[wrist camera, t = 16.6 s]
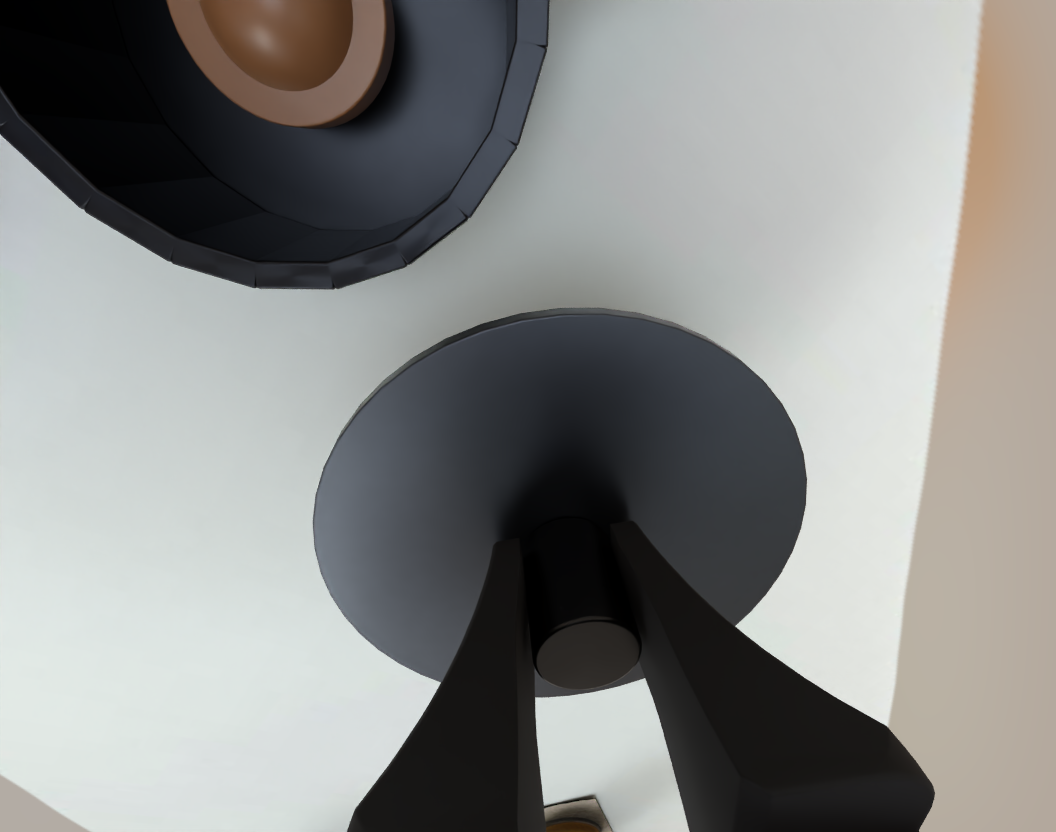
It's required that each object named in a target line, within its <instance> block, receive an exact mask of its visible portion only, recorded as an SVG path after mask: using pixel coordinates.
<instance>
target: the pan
mask: <svg viewBox="0 0 1056 832" xmlns="http://www.w3.org/2000/svg"><path fill="white" fill-rule="evenodd" d="M391 2H392V7H393V15H394V24H395V41H394V51H393V57H392V62H391V66H390V70H389V72H388V75H387V78H386V81H385V83H384V85H383V87H382V89H381V91H380V92H379V94H378V95H377V97H376V98H375V99H374V101H373V102H372V103H371V104H370V105H369V106H368V107H367V108H366V109H365V110H364V111H363V112H362V113H361V114H359V115H358V116H357V117H355V118H353V119H352V120H350V121H348V122H346V123H344V124H341V125H338V126H335V127H330V128H324V129H307V128H299V127H291V126H283V125H280V124H276V123H272V122H269V121H266V120H264V119H262V118H259V117H257V116H255V115H253V114H251V113H249V112H248V111H246V110H244V109H242V108H241V107H240V106H238V105H237V104H235V103H234V102H232V101H231V100H230V99H229V98H227V97H226V96H225V95H224V94H223V93H222V92H221V91H219V90H218V89H217V88H216V87H215V86H214V84H213V83H212V82H211V81H210V80H209V79H208V78H207V77H206V76H205V75H204V73H203V72H202V71H201V69H200V68H199V67H198V66H197V64H196V63H195V61H194V60H193V58H192V57H191V55H190V54H189V52H188V50H187V49H186V47H185V45H184V43H183V41H182V39H181V37H180V35H179V33H178V32H177V29H176V27H175V24H174V22H173V19H172V17H171V14H170V11H169V8H168V4H167V1H166V0H0V135H2V136H3V137H4V138H5V139H6V140H7V141H8V142H9V143H10V144H11V145H12V146H13V147H14V148H16V149H17V150H18V151H19V152H20V153H21V154H22V155H23V156H24V157H25V158H26V159H27V160H28V161H30V162H31V163H32V164H33V165H34V166H35V167H36V168H37V169H38V170H39V171H40V172H41V173H43V174H44V175H45V176H46V177H47V178H48V179H49V180H50V181H51V182H52V183H53V184H54V185H55V186H57V187H58V188H59V189H60V190H61V191H62V192H63V193H64V194H65V195H66V196H67V197H68V198H69V199H71V200H72V201H73V202H74V203H75V204H76V205H77V206H78V207H79V208H81V209H84V210H85V212H86V213H87V214H89V215H91V216H93V217H94V218H96V219H98V220H99V221H101V222H103V223H104V224H106V225H108V226H109V227H111V228H113V229H115V230H116V231H118V232H120V233H121V234H123V235H125V236H126V237H128V238H130V239H131V240H133V241H135V242H136V243H138V244H140V245H142V246H143V247H145V248H147V249H148V250H150V251H152V252H153V253H155V254H157V255H158V256H160V257H162V258H164V259H165V260H167V261H170V262H172V263H173V264H175V265H179V266H182V267H185V268H189V269H192V270H195V271H199V272H202V273H205V274H209V275H212V276H215V277H219V278H222V279H225V280H229V281H232V282H235V283H239V284H242V285H245V286H249V287H252V288H260V289H335V288H336V289H340V288H343V287H346V286H349V285H352V284H355V283H358V282H361V281H365V280H368V279H371V278H374V277H377V276H380V275H383V274H386V273H389V272H392V271H395V270H398V269H402V268H405V267H406V266H407V265H409V264H412V263H413V262H414V261H416V260H417V259H418V258H420V257H421V256H422V255H423V254H425V253H426V252H427V251H429V250H430V249H431V248H433V247H434V246H435V245H436V244H438V243H439V242H440V241H442V240H443V239H444V238H446V237H447V236H448V235H449V234H451V233H452V232H453V231H455V230H456V229H457V228H459V227H460V226H461V225H462V224H464V223H465V222H466V221H467V220H468V218H470V217H471V216H472V215H473V213H474V212H475V210H476V209H477V207H478V206H479V204H480V203H481V201H482V200H483V198H484V197H485V195H486V194H487V192H488V191H489V189H490V188H491V186H492V185H493V183H494V182H495V180H496V179H497V177H498V176H499V174H500V173H501V171H502V170H503V168H504V167H505V165H506V164H507V162H508V161H509V159H510V158H511V156H512V155H513V153H514V152H515V150H516V149H517V146H518V144H519V142H520V138H521V135H522V132H523V128H524V125H525V122H526V118H527V115H528V112H529V109H530V105H531V102H532V99H533V95H534V92H535V89H536V85H537V82H538V79H539V76H540V72H541V69H542V66H543V62H544V59H545V56H546V52H547V46H548V31H549V4H550V0H391Z"/></svg>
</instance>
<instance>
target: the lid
mask: <svg viewBox="0 0 1056 832" xmlns="http://www.w3.org/2000/svg"><path fill="white" fill-rule="evenodd" d="M806 488H807V477H806V469H805V462H804V454H803V451H802V448H801V445H800V442H799V438H798V435H797V432H796V429H795V427H794V425H793V423H792V421H791V419H790V418H789V416H788V414H787V412H786V410H785V408H784V406H783V405H782V403H781V402H780V400H779V399H778V398H777V397H776V395H775V394H774V393H773V392H772V390H771V389H770V388H769V387H768V385H767V384H766V383H765V382H764V381H763V380H762V379H761V378H760V377H759V376H758V375H757V374H756V373H754V372H753V371H752V370H751V369H750V368H749V367H748V366H747V365H745V364H744V363H743V362H742V361H741V360H740V359H739V358H737V357H736V356H735V355H734V354H732V353H731V352H729V351H728V350H726V349H724V348H723V347H721V346H720V345H718V344H717V343H715V342H713V341H712V340H710V339H709V338H707V337H705V336H703V335H701V334H699V333H696V332H694V331H692V330H690V329H687V328H685V327H683V326H680V325H678V324H676V323H673V322H670V321H666V320H663V319H659V318H655V317H651V316H648V315H644V314H640V313H636V312H628V311H620V310H612V309H604V308H557V309H550V310H543V311H535V312H528V313H520V314H517V315H513V316H509V317H505V318H502V319H498V320H494V321H491V322H487V323H483V324H480V325H478V326H475V327H473V328H471V329H468V330H466V331H463V332H461V333H458V334H456V335H454V336H451V337H449V338H446V339H444V340H443V341H441V342H439V343H437V344H436V345H434V346H432V347H430V348H429V349H427V350H425V351H423V352H422V353H420V354H418V355H417V356H415V357H413V358H412V359H410V360H409V361H408V362H407V363H405V364H404V365H403V366H401V367H400V368H399V369H397V370H396V371H395V372H394V373H392V374H391V375H390V376H388V377H387V378H386V379H385V380H383V382H382V383H381V384H380V385H379V386H378V387H377V388H376V389H375V390H374V391H373V392H372V393H371V394H370V395H369V396H368V397H367V398H366V399H365V400H364V401H363V402H362V403H361V404H360V406H359V407H358V408H357V410H356V411H355V413H354V414H353V416H352V417H351V418H350V420H349V421H348V423H347V424H346V425H345V427H344V428H343V430H342V431H341V433H340V435H339V437H338V439H337V441H336V443H335V445H334V447H333V449H332V451H331V453H330V456H329V458H328V460H327V462H326V464H325V466H324V468H323V472H322V475H321V478H320V482H319V485H318V489H317V492H316V497H315V506H314V515H313V532H314V546H315V552H316V556H317V559H318V563H319V567H320V571H321V574H322V577H323V579H324V581H325V583H326V586H327V588H328V590H329V592H330V595H331V596H332V598H333V600H334V601H335V603H336V604H337V606H338V607H339V609H340V610H341V612H342V613H343V615H344V616H345V617H346V619H347V620H348V621H349V622H350V623H351V624H352V625H353V626H354V628H355V629H356V630H357V631H358V632H359V633H360V634H361V635H362V636H363V637H364V638H365V639H367V640H368V641H369V642H370V643H371V644H372V645H374V646H375V647H376V648H377V649H378V650H380V651H381V652H383V653H384V654H386V655H387V656H389V657H390V658H392V659H393V660H395V661H396V662H398V663H399V664H401V665H403V666H405V667H407V668H409V669H411V670H413V671H415V672H417V673H419V674H421V675H423V676H426V677H429V678H431V679H434V680H436V681H439V682H442V680H443V679H444V677H445V675H446V673H447V671H448V669H449V667H450V665H451V663H452V661H453V659H454V657H455V655H456V653H457V651H458V649H459V646H460V644H461V642H462V640H463V638H464V635H465V633H466V630H467V628H468V626H469V623H470V621H471V618H472V616H473V613H474V611H475V608H476V605H477V602H478V599H479V597H480V594H481V591H482V588H483V585H484V582H485V578H486V575H487V571H488V568H489V564H490V559H491V555H492V549H493V545H494V544H495V543H496V542H497V541H504V540H510V539H517V538H519V539H520V545H521V550H522V556H523V562H524V572H525V582H526V595H527V608H528V619H529V629H530V640H531V651H532V660H533V665H534V668H535V697H556V696H570V695H577V694H583V693H590V692H596V691H600V690H605V689H609V688H613V687H618V686H621V685H624V684H628V683H631V682H634V681H637V680H640V679H644V678H645V676H644V673H643V670H642V668H641V665H640V662H639V659H640V656H641V651H642V641H641V637H640V634H639V631H638V628H637V625H636V621H635V618H634V615H633V612H632V609H631V606H630V603H629V600H628V597H627V593H626V590H625V587H624V584H623V581H622V578H621V575H620V572H619V569H618V566H617V563H616V560H615V556H614V553H613V550H612V547H611V536H610V524H614V523H621V522H627V521H634V522H635V523H637V525H638V526H639V527H640V529H641V530H642V531H643V533H644V534H645V535H646V537H647V538H648V539H649V540H650V542H651V543H652V544H653V545H654V546H655V548H656V549H657V550H658V551H659V552H660V554H661V555H662V556H663V557H664V558H665V559H666V560H667V562H668V563H669V564H670V565H671V566H672V567H673V568H674V569H675V570H676V571H677V572H678V573H679V574H680V575H681V577H682V578H683V579H684V580H685V581H686V582H687V583H688V584H689V585H690V586H691V587H692V588H693V589H694V590H695V591H696V592H697V593H698V594H699V595H700V596H701V597H702V598H703V599H705V600H706V601H707V602H708V603H709V604H710V605H711V606H712V607H713V608H714V609H715V610H716V611H718V612H719V613H720V614H721V615H722V616H723V617H724V618H725V619H727V620H728V621H729V622H730V623H731V624H733V625H734V626H736V625H737V624H738V623H739V622H740V621H741V620H742V619H743V618H744V617H745V616H747V615H748V614H749V613H750V612H751V611H752V610H753V608H754V607H755V606H756V605H757V604H758V603H759V602H760V601H761V599H762V598H763V597H764V596H765V595H766V594H767V592H768V591H769V590H770V588H771V587H772V585H773V584H774V582H775V581H776V580H777V578H778V577H779V575H780V574H781V572H782V570H783V568H784V567H785V565H786V563H787V561H788V559H789V557H790V555H791V553H792V551H793V549H794V546H795V543H796V540H797V538H798V535H799V532H800V530H801V525H802V521H803V516H804V511H805V506H806Z"/></svg>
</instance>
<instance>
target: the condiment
mask: <svg viewBox="0 0 1056 832" xmlns="http://www.w3.org/2000/svg"><path fill="white" fill-rule="evenodd" d="M544 814H545V823H546V832H612V830H611V828H610V826H609V824H608V822H607V820H606V819H605V817H604V815H603V813H602V811H601V809H600V807H599V806H598V803H597V801H596V799H591V800H586V801H584V800H580V801H576V802H570V803H567V804H559V805H555V806H551V807H547V808H544Z"/></svg>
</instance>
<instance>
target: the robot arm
mask: <svg viewBox="0 0 1056 832" xmlns="http://www.w3.org/2000/svg"><path fill="white" fill-rule="evenodd" d="M610 536H611V547H612V550H613V553H614V556H615V560H616V563H617V566H618V569H619V572H620V575H621V578H622V581H623V584H624V587H625V590H626V593H627V597H628V600H629V603H630V606H631V609H632V612H633V615H634V618H635V621H636V625H637V628H638V631H639V634H640V637H641V641H642V651H641V656H640V659H639V662H640V665H641V668H642V670H643V673H644V676H645V678H646V681H647V684H648V686H649V689H650V692H651V695H652V697H653V700H654V703H655V706H656V709H657V712H658V715H659V719H660V722H661V726H662V729H663V733H664V737H665V740H666V744H667V748H668V751H669V755H670V759H671V762H672V766H673V770H674V774H675V777H676V781H677V785H678V789H679V792H680V796H681V800H682V804H683V807H684V811H685V815H686V819H687V823H688V827H689V831H690V832H919V829H920V827H921V825H922V823H923V822H924V820H925V818H926V816H927V814H928V813H929V811H930V809H931V807H932V803H933V800H934V795H935V792H934V788H933V785H932V783H931V782H930V780H929V779H928V778H927V776H926V775H925V773H924V772H923V771H922V769H921V768H920V766H919V765H918V763H917V762H916V761H915V760H914V758H913V757H912V756H911V755H910V753H909V752H908V751H907V750H906V748H905V747H904V746H903V745H902V744H901V742H900V741H899V740H898V739H897V738H896V737H895V735H894V734H893V733H892V732H891V731H890V729H889V728H888V727H887V726H885V725H884V724H882V723H880V722H878V721H876V720H875V719H873V718H871V717H869V716H868V715H866V714H864V713H862V712H860V711H859V710H857V709H855V708H853V707H852V706H850V705H848V704H846V703H844V702H843V701H841V700H839V699H837V698H836V697H834V696H832V695H831V694H829V693H828V692H826V691H824V690H823V689H821V688H820V687H818V686H817V685H815V684H813V683H812V682H810V681H809V680H807V679H806V678H804V677H803V676H801V675H800V674H798V673H797V672H795V671H794V670H793V669H791V668H790V667H788V666H787V665H785V664H784V663H783V662H781V661H780V660H778V659H777V658H775V657H774V656H773V655H771V654H770V653H768V652H767V651H765V650H764V649H763V648H761V647H760V646H759V645H758V644H756V643H755V642H754V641H752V640H751V639H750V638H749V637H747V636H746V635H745V634H743V633H742V632H741V631H740V630H739V629H737V628H736V627H735V626H734V625H733V624H731V623H730V622H729V621H728V620H727V619H725V618H724V617H723V616H722V615H721V614H720V613H719V612H718V611H716V610H715V609H714V608H713V607H712V606H711V605H710V604H709V603H708V602H707V601H706V600H705V599H703V598H702V597H701V596H700V595H699V594H698V593H697V592H696V591H695V590H694V589H693V588H692V587H691V586H690V585H689V584H688V583H687V582H686V581H685V580H684V579H683V578H682V577H681V575H680V574H679V573H678V572H677V571H676V570H675V569H674V568H673V567H672V566H671V565H670V564H669V563H668V562H667V560H666V559H665V558H664V557H663V556H662V555H661V554H660V552H659V551H658V550H657V549H656V548H655V546H654V545H653V544H652V543H651V542H650V540H649V539H648V538H647V537H646V535H645V534H644V533H643V531H642V530H641V529H640V527H639V526H638V525H637V523H635V522H634V521H627V522H621V523H614V524H610ZM347 832H546V823H545V814H544V804H543V795H542V785H541V776H540V766H539V756H538V746H537V736H536V718H535V668H534V665H533V660H532V651H531V640H530V629H529V619H528V608H527V595H526V582H525V572H524V562H523V556H522V550H521V545H520V539H519V538H517V539H510V540H504V541H497V542H496V543H495V544H494V545H493V549H492V555H491V559H490V564H489V568H488V571H487V575H486V578H485V582H484V585H483V588H482V591H481V594H480V597H479V599H478V602H477V605H476V608H475V611H474V613H473V616H472V618H471V621H470V623H469V626H468V628H467V630H466V633H465V635H464V638H463V640H462V642H461V644H460V646H459V649H458V651H457V653H456V655H455V657H454V659H453V661H452V663H451V665H450V667H449V669H448V671H447V673H446V675H445V677H444V679H443V680H442V682H441V684H440V686H439V688H438V689H437V691H436V693H435V695H434V696H433V698H432V700H431V702H430V703H429V705H428V707H427V708H426V710H425V712H424V713H423V715H422V717H421V718H420V720H419V721H418V723H417V724H416V726H415V727H414V729H413V730H412V732H411V733H410V735H409V736H408V738H407V739H406V741H405V742H404V744H403V745H402V747H401V748H400V750H399V751H398V753H397V754H396V756H395V757H394V759H393V760H392V761H391V763H390V764H389V766H388V767H387V768H386V770H385V771H384V772H383V773H382V775H381V776H380V777H379V779H378V780H377V781H376V783H375V784H374V785H373V787H372V788H371V789H370V790H369V792H368V793H367V794H366V796H365V797H364V798H363V800H362V801H361V802H360V804H359V805H358V806H357V807H356V809H355V811H354V813H353V816H352V819H351V822H350V824H349V827H348V830H347Z"/></svg>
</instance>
